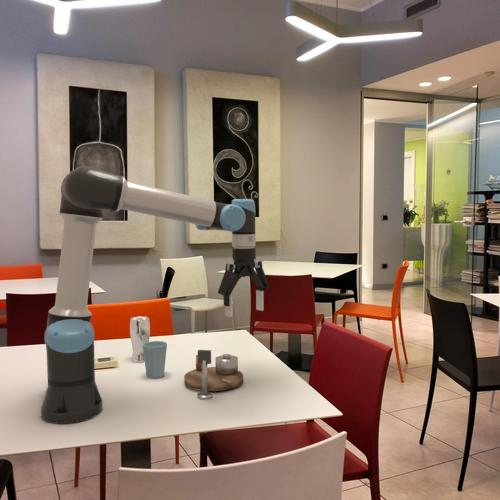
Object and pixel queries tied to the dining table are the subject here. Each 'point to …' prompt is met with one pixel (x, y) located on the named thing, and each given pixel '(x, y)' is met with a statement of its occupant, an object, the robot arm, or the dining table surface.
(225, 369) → the cover
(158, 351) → the cup
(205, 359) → the indicator post
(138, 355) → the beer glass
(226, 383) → the turntable
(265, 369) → the dining table surface
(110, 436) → the dining table surface
